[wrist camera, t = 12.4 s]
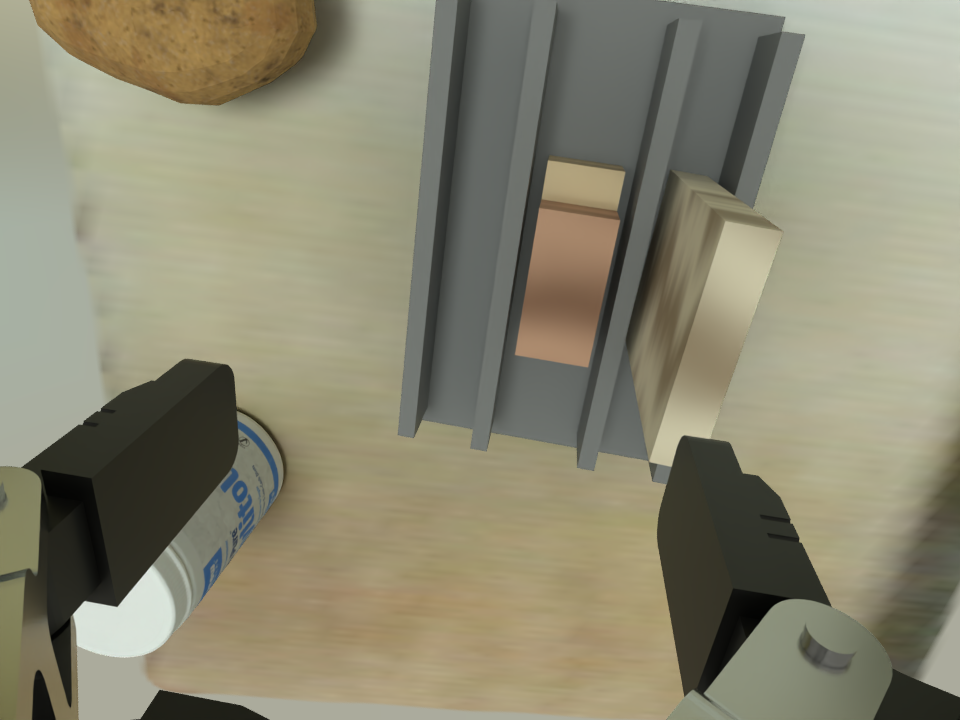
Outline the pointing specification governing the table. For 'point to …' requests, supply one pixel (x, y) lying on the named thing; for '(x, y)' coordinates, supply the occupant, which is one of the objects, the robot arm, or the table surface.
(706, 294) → the sheet
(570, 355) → the offcut upper
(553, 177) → the offcut lower
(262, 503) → the supplement tub
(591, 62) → the rack
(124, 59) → the potato
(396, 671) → the table surface
